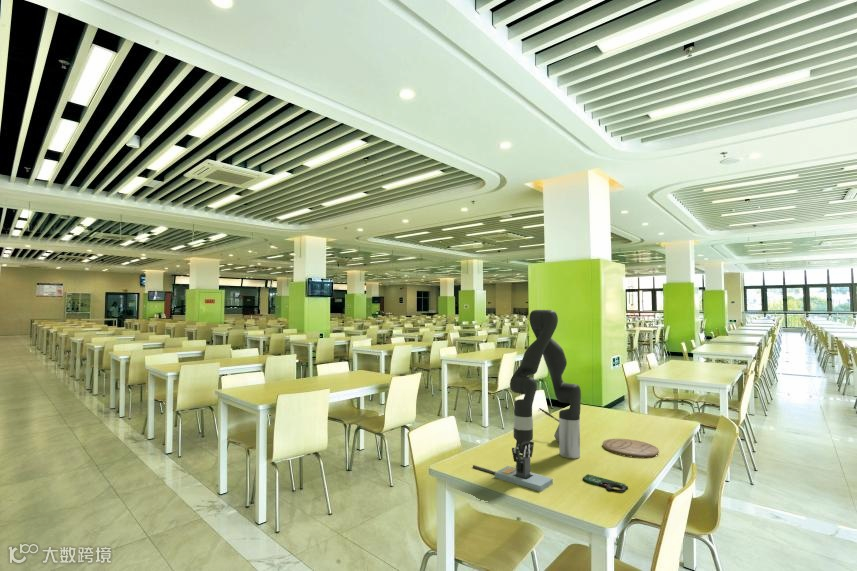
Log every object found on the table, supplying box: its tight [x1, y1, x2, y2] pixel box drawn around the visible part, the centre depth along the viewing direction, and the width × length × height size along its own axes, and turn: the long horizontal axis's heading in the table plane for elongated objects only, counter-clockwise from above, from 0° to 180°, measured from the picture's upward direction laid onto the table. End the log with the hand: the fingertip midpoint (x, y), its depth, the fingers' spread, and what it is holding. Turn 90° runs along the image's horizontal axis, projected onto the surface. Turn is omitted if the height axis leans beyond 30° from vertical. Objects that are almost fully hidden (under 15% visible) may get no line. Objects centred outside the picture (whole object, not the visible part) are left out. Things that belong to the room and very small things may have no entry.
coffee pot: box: [538, 408, 559, 443], centre depth 223 cm, size 21×12×15 cm, turn 46°
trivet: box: [602, 438, 660, 459], centre depth 209 cm, size 25×25×2 cm
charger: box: [515, 456, 531, 480], centre depth 168 cm, size 4×4×8 cm
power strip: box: [472, 464, 554, 493], centre depth 172 cm, size 10×33×2 cm, turn 48°
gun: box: [582, 473, 629, 494], centre depth 165 cm, size 16×2×10 cm
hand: (523, 470), depth 168 cm, fingers closed on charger, 4 cm apart
